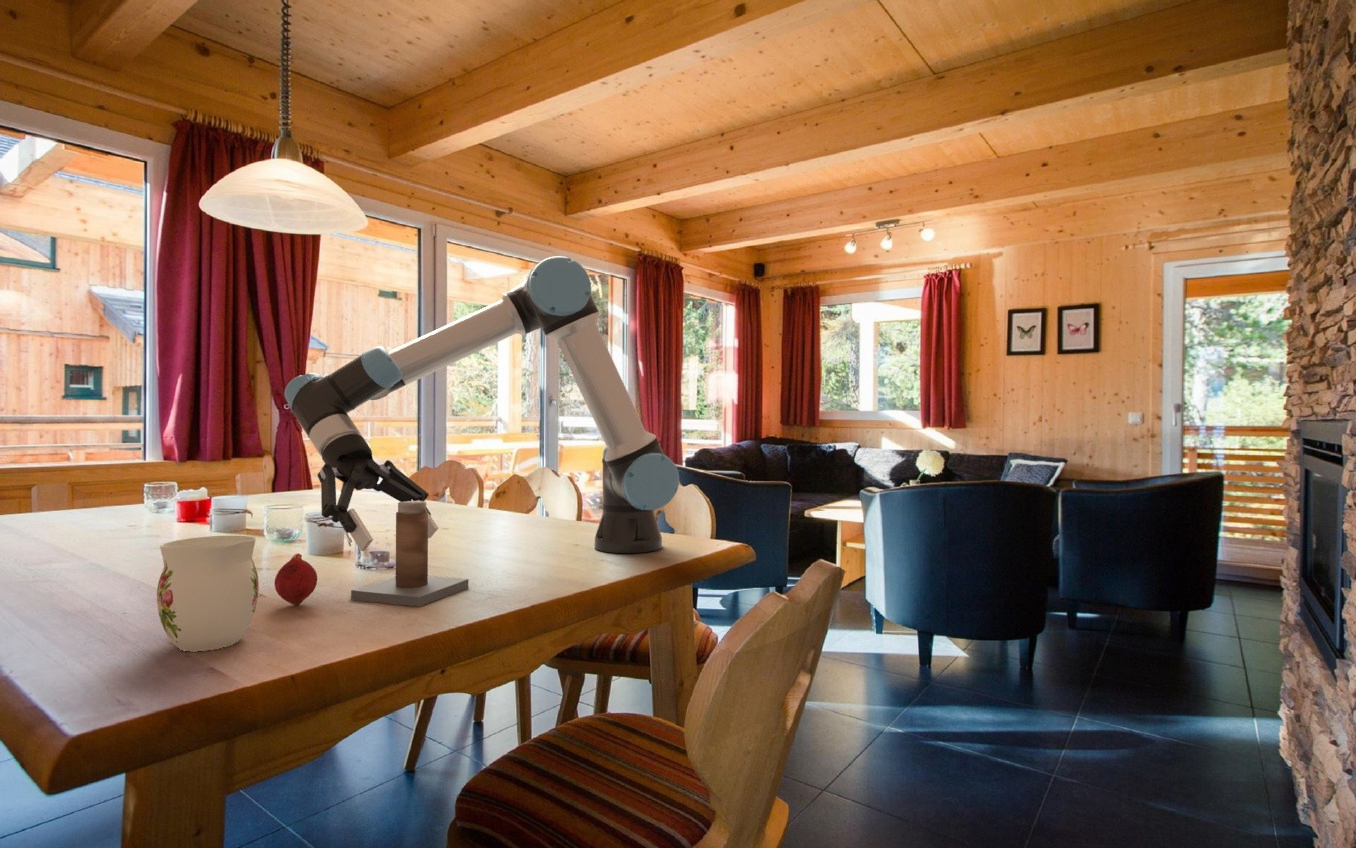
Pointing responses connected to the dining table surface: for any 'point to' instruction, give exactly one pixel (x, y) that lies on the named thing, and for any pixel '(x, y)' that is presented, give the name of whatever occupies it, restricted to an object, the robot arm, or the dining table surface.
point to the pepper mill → (411, 544)
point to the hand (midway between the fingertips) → (401, 539)
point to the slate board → (409, 591)
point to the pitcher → (207, 591)
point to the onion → (295, 580)
